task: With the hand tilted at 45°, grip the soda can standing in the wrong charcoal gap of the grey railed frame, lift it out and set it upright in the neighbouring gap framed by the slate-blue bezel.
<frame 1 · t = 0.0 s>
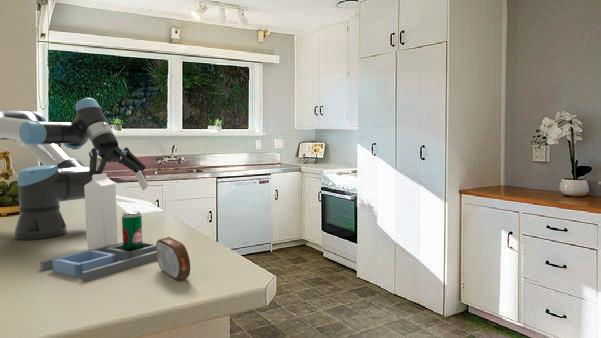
hand: (128, 190, 143), 15 cm above the countertop, tool tilted 35°, fingers open, 13 cm apart
tin: (172, 276, 102), on the countertop
grey railed frame: (110, 261, 114), on the countertop
soda can: (133, 256, 120), resting in grey railed frame
milk: (102, 248, 128), on the countertop
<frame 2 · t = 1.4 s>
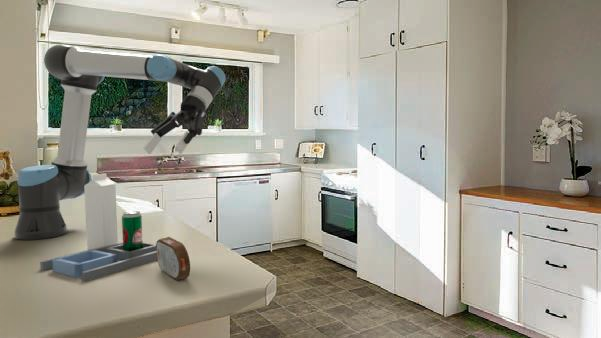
hand: (161, 150, 130), 28 cm above the countertop, tool tilted 45°, fingers open, 13 cm apart
nothing on the countertop moved.
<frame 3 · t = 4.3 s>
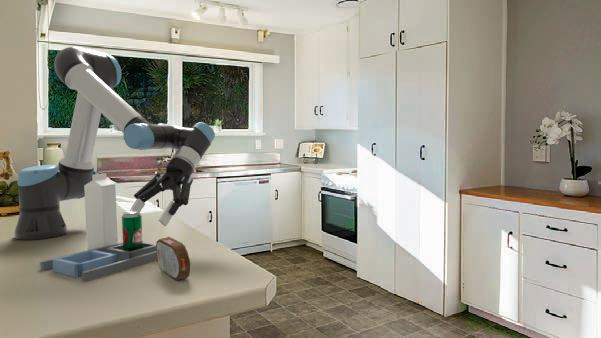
hand: (145, 221, 122), 9 cm above the countertop, tool tilted 45°, fingers open, 13 cm apart
nothing on the countertop moved.
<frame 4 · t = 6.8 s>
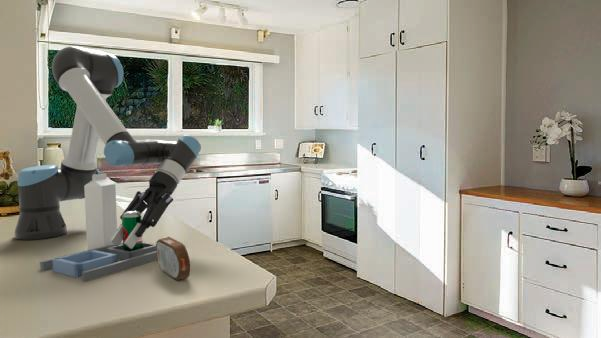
hand: (121, 244, 116), 4 cm above the countertop, tool tilted 45°, fingers closed on soda can, 5 cm apart
soda can: (133, 256, 120), resting in grey railed frame, touching gripper
everything else where it was.
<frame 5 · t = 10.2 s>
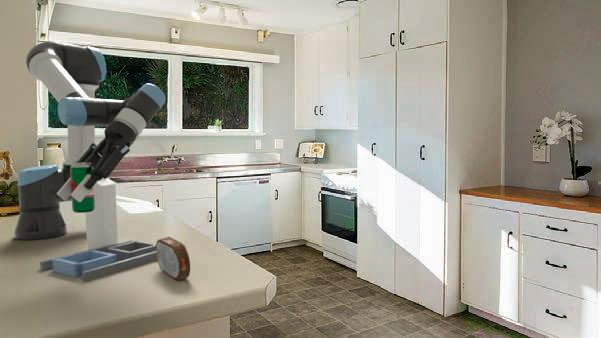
hand: (68, 197, 104), 18 cm above the countertop, tool tilted 45°, fingers closed on soda can, 5 cm apart
soda can: (83, 212, 107), point 14 cm above the countertop, touching gripper
everything else where it was.
when the fingers open (6 cm above the countertop, at t = 13.8 s): soda can drops 2 cm, resting in grey railed frame.
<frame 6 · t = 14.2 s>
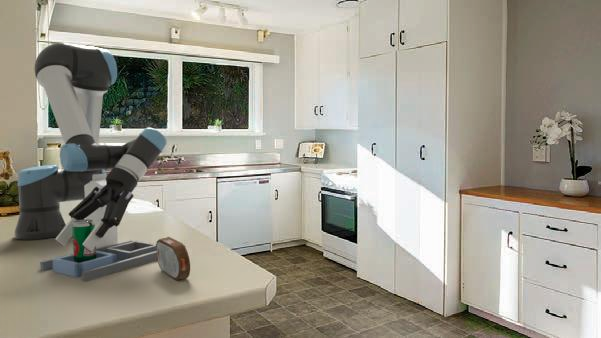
hand: (73, 245, 105), 7 cm above the countertop, tool tilted 45°, fingers open, 10 cm apart
soda can: (85, 269, 108), resting in grey railed frame
everything else where it was.
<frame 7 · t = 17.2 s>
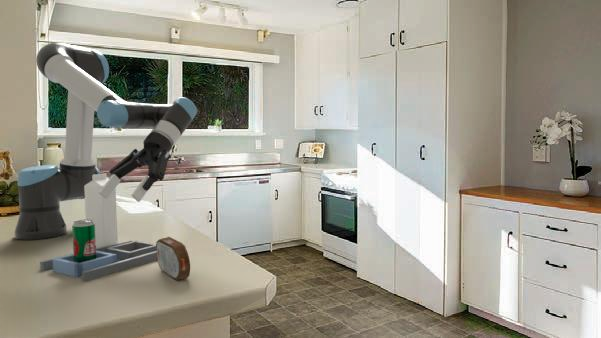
hand: (118, 197, 115), 17 cm above the countertop, tool tilted 45°, fingers open, 13 cm apart
nothing on the countertop moved.
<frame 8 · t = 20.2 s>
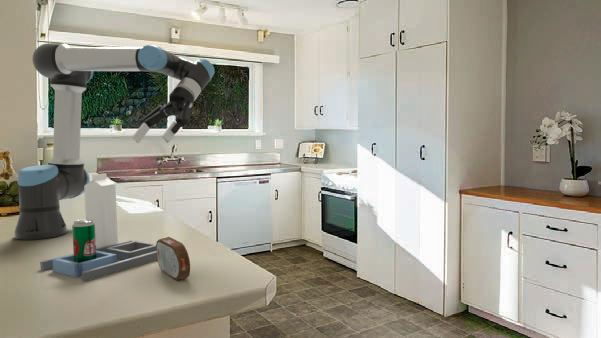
hand: (149, 140, 133), 32 cm above the countertop, tool tilted 45°, fingers open, 13 cm apart
nothing on the countertop moved.
at the end: soda can 0.1 cm from the target spot on the grey railed frame, point 0.0 cm above the grey railed frame's base; soda can tilted 0°; the gripper is holding nothing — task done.
